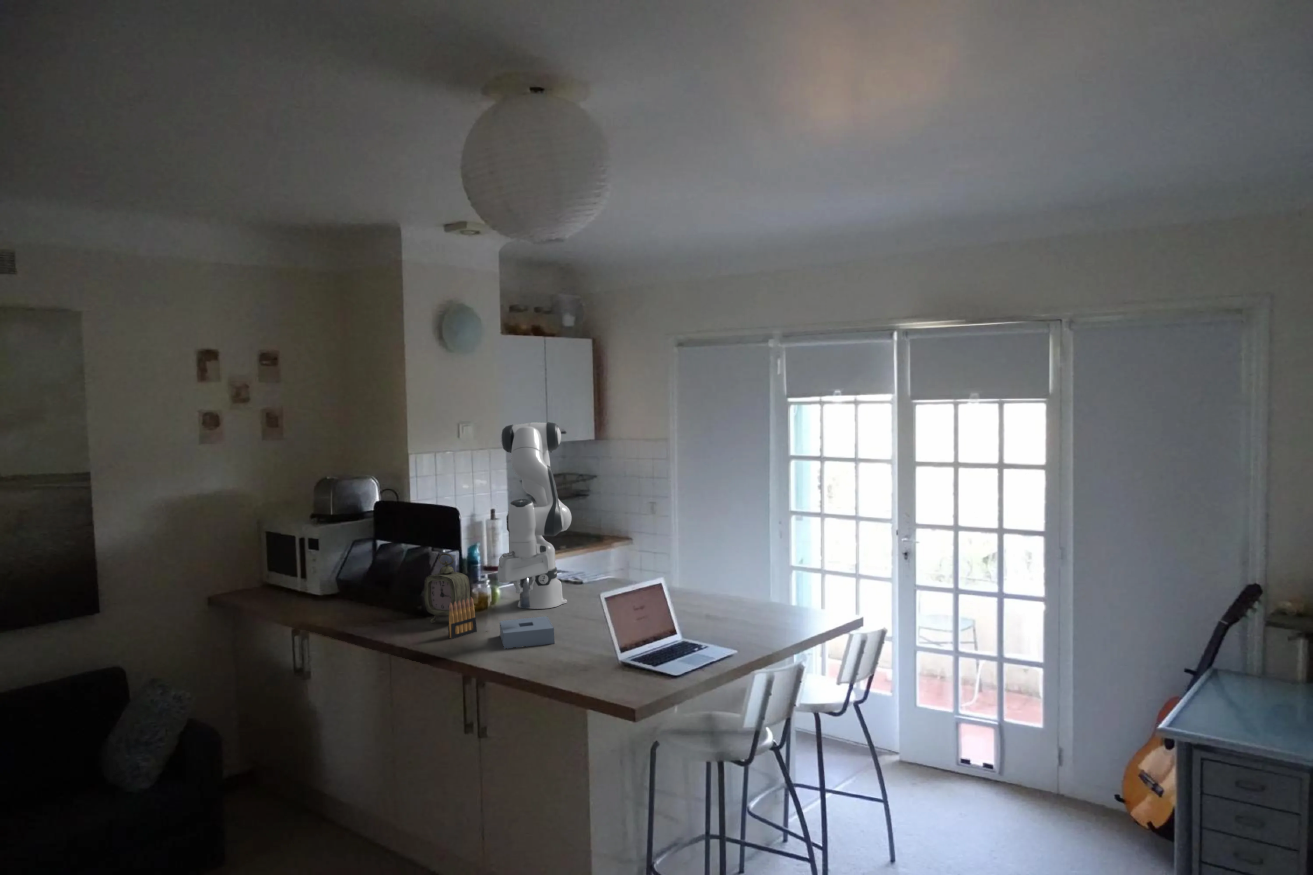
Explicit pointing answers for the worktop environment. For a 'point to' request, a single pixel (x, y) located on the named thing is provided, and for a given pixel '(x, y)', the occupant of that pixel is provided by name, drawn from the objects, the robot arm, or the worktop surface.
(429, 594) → the tabletop clock
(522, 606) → the steel pin
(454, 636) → the ammunition clip
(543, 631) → the bore block
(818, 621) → the worktop surface
